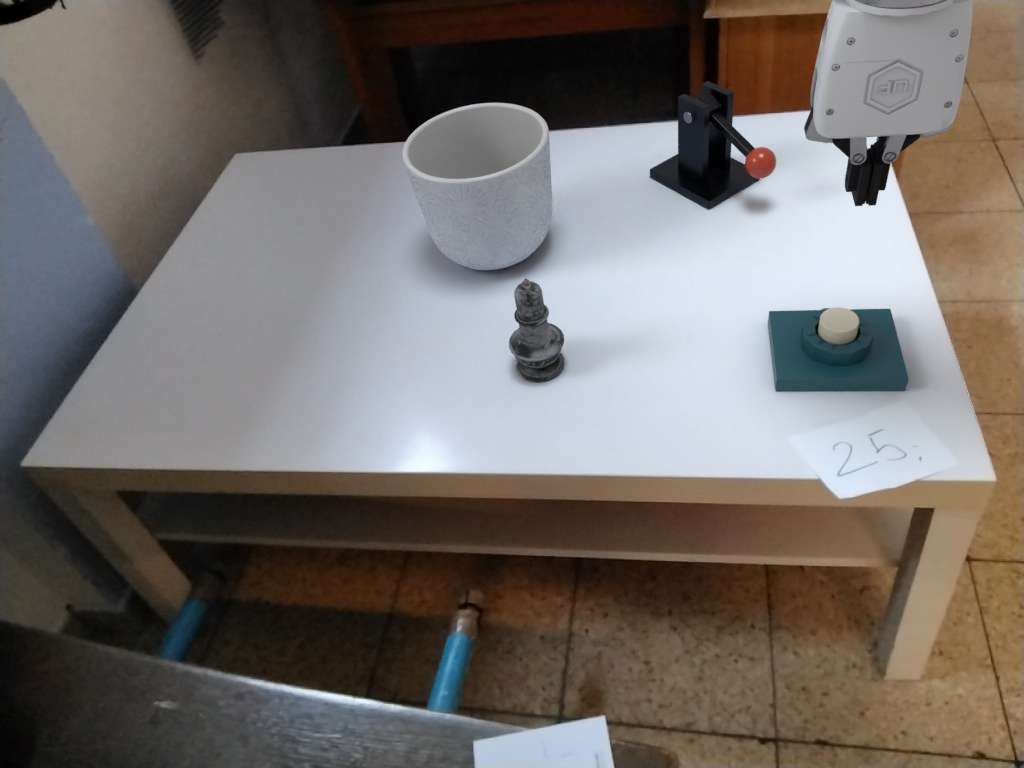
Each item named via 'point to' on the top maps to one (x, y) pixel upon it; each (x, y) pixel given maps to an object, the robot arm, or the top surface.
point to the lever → (740, 140)
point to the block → (836, 354)
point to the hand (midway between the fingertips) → (862, 196)
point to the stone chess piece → (535, 336)
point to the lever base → (703, 153)
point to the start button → (838, 326)
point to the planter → (483, 182)
